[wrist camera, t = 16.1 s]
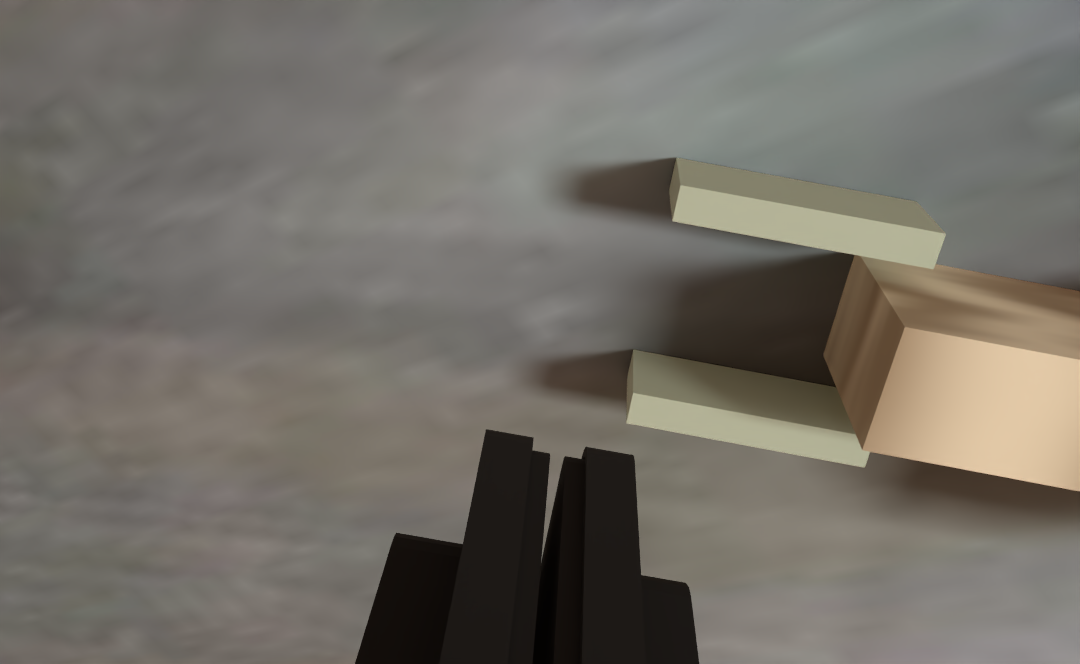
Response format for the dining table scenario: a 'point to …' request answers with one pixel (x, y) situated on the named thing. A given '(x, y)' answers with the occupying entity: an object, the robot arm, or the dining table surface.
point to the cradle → (754, 398)
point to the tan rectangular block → (960, 369)
